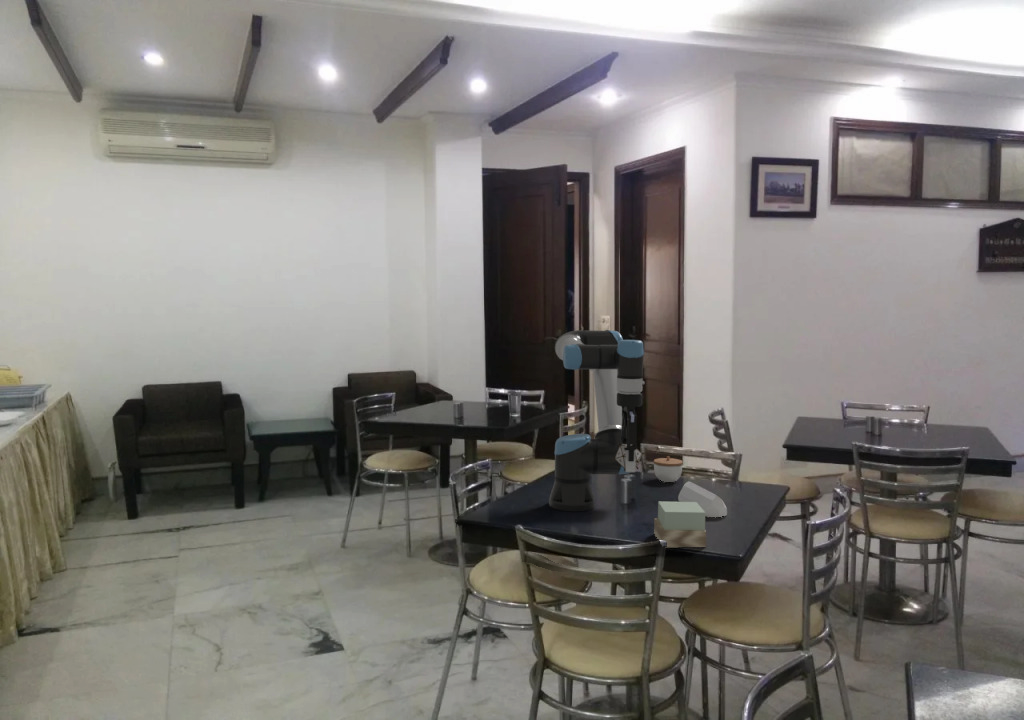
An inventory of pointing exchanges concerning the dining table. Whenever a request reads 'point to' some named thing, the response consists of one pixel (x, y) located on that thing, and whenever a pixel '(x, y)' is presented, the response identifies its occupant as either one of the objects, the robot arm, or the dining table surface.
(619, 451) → the game die
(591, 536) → the dining table surface
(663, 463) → the lidded jar
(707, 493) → the chamfered grey bar
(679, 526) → the tower top block
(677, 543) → the tower base block
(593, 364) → the robot arm
